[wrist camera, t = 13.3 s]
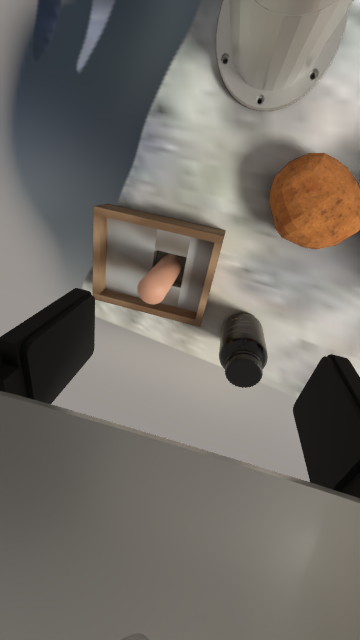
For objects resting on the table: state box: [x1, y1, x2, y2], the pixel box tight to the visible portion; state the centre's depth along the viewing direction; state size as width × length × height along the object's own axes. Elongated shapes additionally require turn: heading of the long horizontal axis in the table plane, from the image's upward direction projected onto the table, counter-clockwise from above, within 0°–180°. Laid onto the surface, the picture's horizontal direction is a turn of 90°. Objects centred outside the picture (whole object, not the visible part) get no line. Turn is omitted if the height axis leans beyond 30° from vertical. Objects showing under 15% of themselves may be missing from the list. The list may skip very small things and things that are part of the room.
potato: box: [270, 153, 360, 249], centre depth 30 cm, size 9×11×8 cm
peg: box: [137, 255, 182, 304], centre depth 36 cm, size 4×4×11 cm
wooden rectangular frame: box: [93, 204, 225, 327], centre depth 39 cm, size 14×18×4 cm
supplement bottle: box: [219, 313, 268, 388], centre depth 38 cm, size 7×7×12 cm
